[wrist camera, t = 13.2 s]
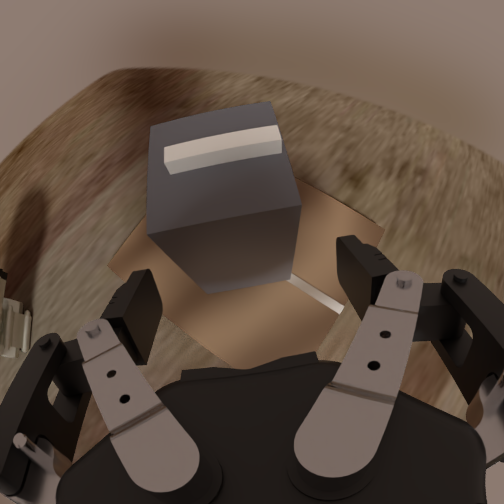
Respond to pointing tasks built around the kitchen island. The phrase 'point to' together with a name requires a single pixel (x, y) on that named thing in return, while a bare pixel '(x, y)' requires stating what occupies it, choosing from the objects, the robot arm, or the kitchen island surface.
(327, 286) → the panel
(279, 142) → the grey rectangular block
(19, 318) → the pneumatic valve
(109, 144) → the kitchen island surface
